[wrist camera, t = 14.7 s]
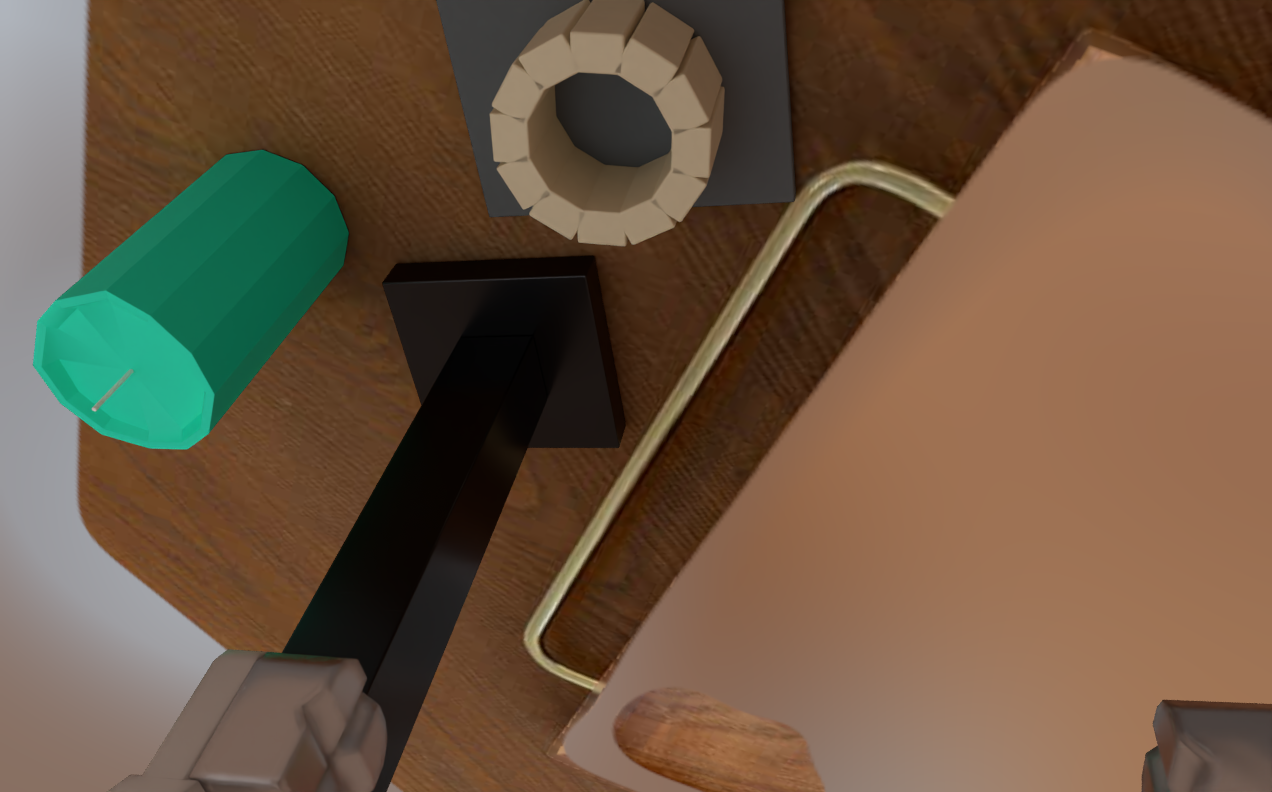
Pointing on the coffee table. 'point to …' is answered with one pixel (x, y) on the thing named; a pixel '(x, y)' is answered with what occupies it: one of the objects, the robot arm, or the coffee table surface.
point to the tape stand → (460, 459)
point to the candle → (193, 302)
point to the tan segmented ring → (576, 182)
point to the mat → (638, 95)
